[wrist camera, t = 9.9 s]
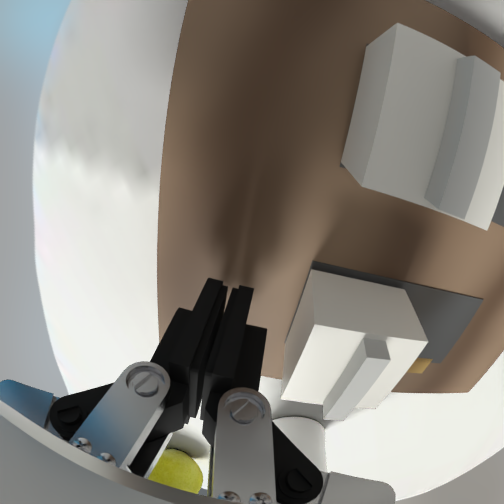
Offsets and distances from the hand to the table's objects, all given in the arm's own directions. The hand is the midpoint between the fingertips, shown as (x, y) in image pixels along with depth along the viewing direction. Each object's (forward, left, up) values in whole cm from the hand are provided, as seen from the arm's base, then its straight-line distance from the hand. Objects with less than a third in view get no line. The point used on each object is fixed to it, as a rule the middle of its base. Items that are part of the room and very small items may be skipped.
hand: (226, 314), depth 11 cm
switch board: (-7, -4, -4) cm, 9 cm away
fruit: (+3, +28, -4) cm, 29 cm away
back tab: (-5, 0, -1) cm, 5 cm away
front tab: (-5, -8, -1) cm, 9 cm away
